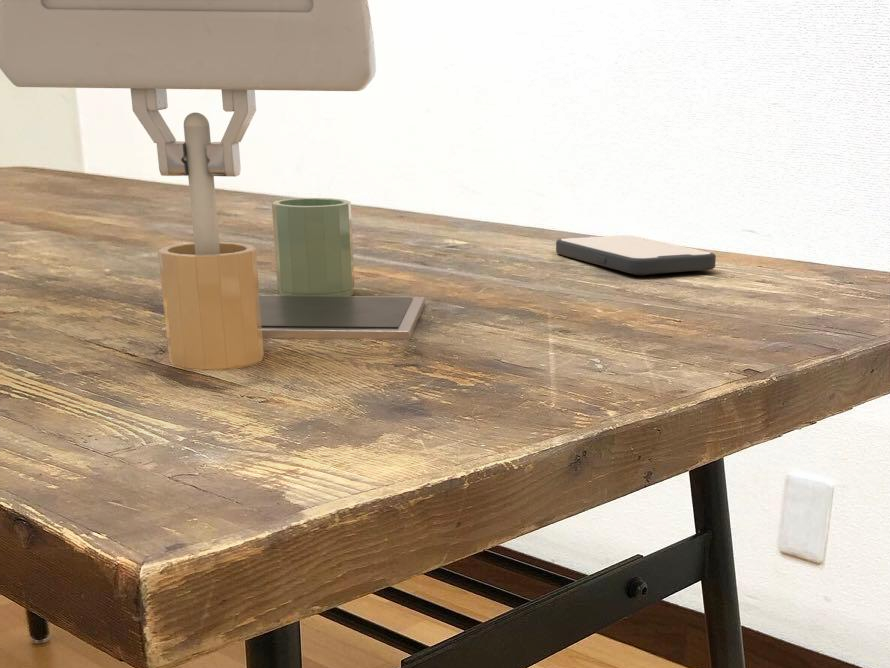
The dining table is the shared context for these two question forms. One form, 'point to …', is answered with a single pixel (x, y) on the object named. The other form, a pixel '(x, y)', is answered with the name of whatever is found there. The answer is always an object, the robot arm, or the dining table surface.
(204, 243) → the stylus
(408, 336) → the tablet
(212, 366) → the pen stand
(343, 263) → the pen cup
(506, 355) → the dining table surface
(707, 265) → the phone case
